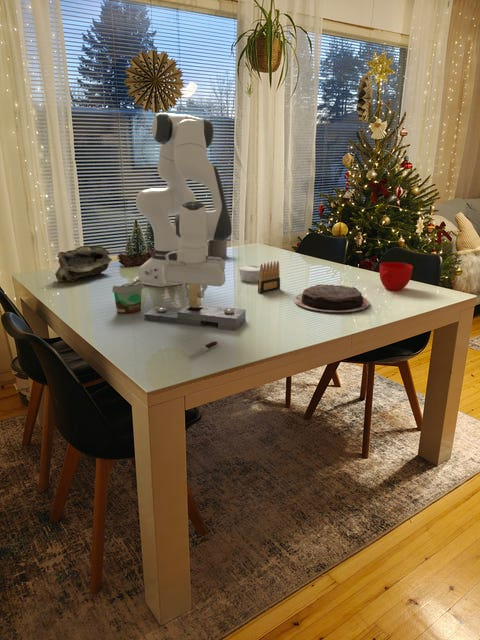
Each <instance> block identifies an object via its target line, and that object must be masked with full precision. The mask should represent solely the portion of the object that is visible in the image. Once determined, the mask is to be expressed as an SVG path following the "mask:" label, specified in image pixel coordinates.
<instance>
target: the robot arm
mask: <svg viewBox="0 0 480 640" xmlns="http://www.w3.org/2000/svg"><path fill="white" fill-rule="evenodd" d="M214 130H215V129H214V126H213V123H212V122H211V120H209V119H206V118H203V117H198V116H193V115H190V114H179V113H178V114H177V113H168V112H159V113H157V114H156V115H155V116H154V119H153V121H152V126H151V131H152V136H153V139H154V140H155V141H156V143H158V144H160V149H159V155H158V162H157V173H158V176H159V178H161V179H162V180H163V181H165V182H166V183H167V185H166V187H157V188H155V187H154V188H153V187H151V188H147V189H142V190H140V191H139V192H138V193H137V195H136V198H135V206H136V209H137V211H138V213H140V215H142V216H143V217H144V218H146V220H148V222H149V224H150V225H151V228H152V231H153V239H154V240H153V241H154V248H153V249H151V250H150V251H149V255H151V257H150V258H149V259H148V260H147V261H145V262H144V263H143V264H142V265H140V266H139V269H138V273H137V276H136V277H134V278H133V279H132V280H133V281H132V283H134V282H136V279H138V280H141V282H142V284H143V285H147V286H151V287H152V286H153V287H158V288H160V287H161V288H164V287H169V286H171V287H172V286H177V285H181V287H182V289H183V291H184V292H185V297H187V298H189V285H188V284H198V285H201V291H200V292H199V293H198V295H199V296H198V298H201V299H204V298H205V291H206V290H207V288H208V286H209V287H210V286H212V287H222V286H223V285H225V283H226V272H225V269H226V262H225V259H224V258H221V257H213V256H209V242H208V241H209V240H213V241H224V240H226V239H227V240H228V238H229V237H230V236H231V235H232V231H233V221H232V218H231V216H230V212H229V209H228V206H227V201H226V196H225V192H224V187H223V184H222V179H221V177H220V172H219V170H218V168H217V166H216V165H214V164H212V162H211V161H210V159H209V158H208V153H207V149H209V147H210V146H211V145H212V144H213V140H214V135H215V134H214V133H215V131H214ZM187 180H189V181H193V182H196V183H199V184H201V185H203V186H205V187H206V188H207V189H208V190H209V192H210V194H211V198H212V203H213V204H212V205H213V208H214V209H213V210H206V206H205V204H204V203H202V202H200V201H197V197H196V195H195V192H194V191H193V190H192V189H191V188H190V187H189V185H188V183H187ZM169 216H176V217H175V218H174V220H175V221H174V222H175V224H173V223H171V221H170V219H169V218H170V217H169Z"/></svg>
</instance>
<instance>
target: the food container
mask: <svg viewBox="0 0 480 640" xmlns="http://www.w3.org/2000/svg"><path fill="white" fill-rule="evenodd" d="M143 289H144V284H142V282H141V280H138V279H136V282H130V283H125V284H123V285H119V286H118V285H112V293H113V295H114V301H115V302H114V303H115V307H116V314H118V315H132V314H137V313H140V312H141V310H142V290H143Z"/></svg>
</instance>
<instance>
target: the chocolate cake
mask: <svg viewBox="0 0 480 640" xmlns="http://www.w3.org/2000/svg"><path fill="white" fill-rule="evenodd" d="M293 301H294V303H295V304H296V305H297V306H299V307H302V308H304V309H305V310H306V311H313V312H321V313H324V314H334V315H335V314H336V315H338V314H339V315H340V314H341V315H342V314H343V315H344V314H352V313H354V312H359V313H360V312H362V311H363V310H365V309H366V310H367V309H368V307H369V306H370V303H371V302H370V301H369V300H368V299H367V298H365V297H364V296H363V294H362V292H361V291H360V290H359V289H357V288H356V287H354V286H353V287H351V286H346V285H342V284H341V285H335V284H332V283H331V284H316V285H313V286H309V287H308V288H306V289H304V290H303V292H302V293H299V294H296V295H295V297H293Z"/></svg>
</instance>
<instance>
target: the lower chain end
mask: <svg viewBox="0 0 480 640" xmlns="http://www.w3.org/2000/svg"><path fill="white" fill-rule="evenodd" d="M182 308H183V307H175V306H174V307H173V306H165V305H164V306H163V305H156V306H155V307H154V308H152V309H150V310H148V311H147V312H146V313H144V314H143V315H144V318H143V319H144V321H151V322H158V323H168V324H175V325H176V324H177V325H185V326H193V327H202V326H203V325H204V324H205V323H206V322H208V321H200V320H191V319H182V318H177V312H178V311H180V310H181V309H182Z"/></svg>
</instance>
